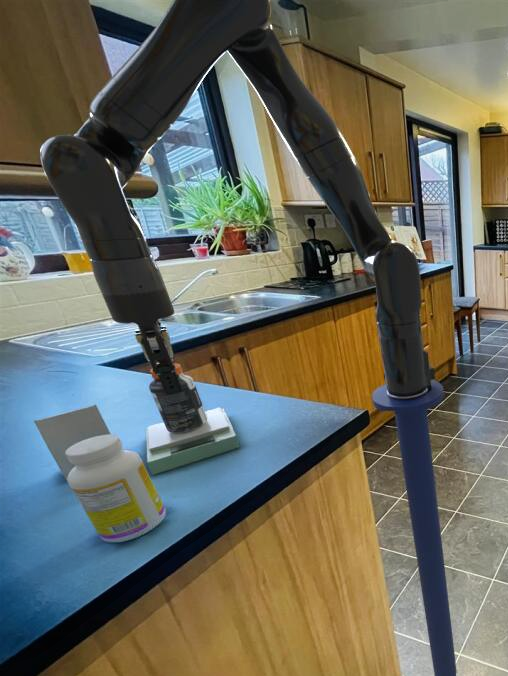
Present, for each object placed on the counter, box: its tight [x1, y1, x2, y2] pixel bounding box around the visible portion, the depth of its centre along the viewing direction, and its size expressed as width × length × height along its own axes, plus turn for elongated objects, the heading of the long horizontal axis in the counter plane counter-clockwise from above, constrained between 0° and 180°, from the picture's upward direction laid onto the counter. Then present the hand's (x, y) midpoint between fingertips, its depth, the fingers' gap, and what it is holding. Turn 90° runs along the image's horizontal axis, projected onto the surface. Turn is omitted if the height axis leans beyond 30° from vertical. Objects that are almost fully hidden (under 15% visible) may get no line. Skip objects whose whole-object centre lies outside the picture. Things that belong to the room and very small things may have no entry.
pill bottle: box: [148, 363, 208, 433], centre depth 69 cm, size 6×6×11 cm
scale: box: [145, 406, 241, 476], centre depth 71 cm, size 12×14×3 cm
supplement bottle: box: [65, 434, 167, 543], centre depth 50 cm, size 7×7×13 cm
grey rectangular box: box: [33, 404, 112, 482], centre depth 64 cm, size 4×7×10 cm, turn 141°
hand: (173, 386), depth 68 cm, fingers closed on pill bottle, 6 cm apart
